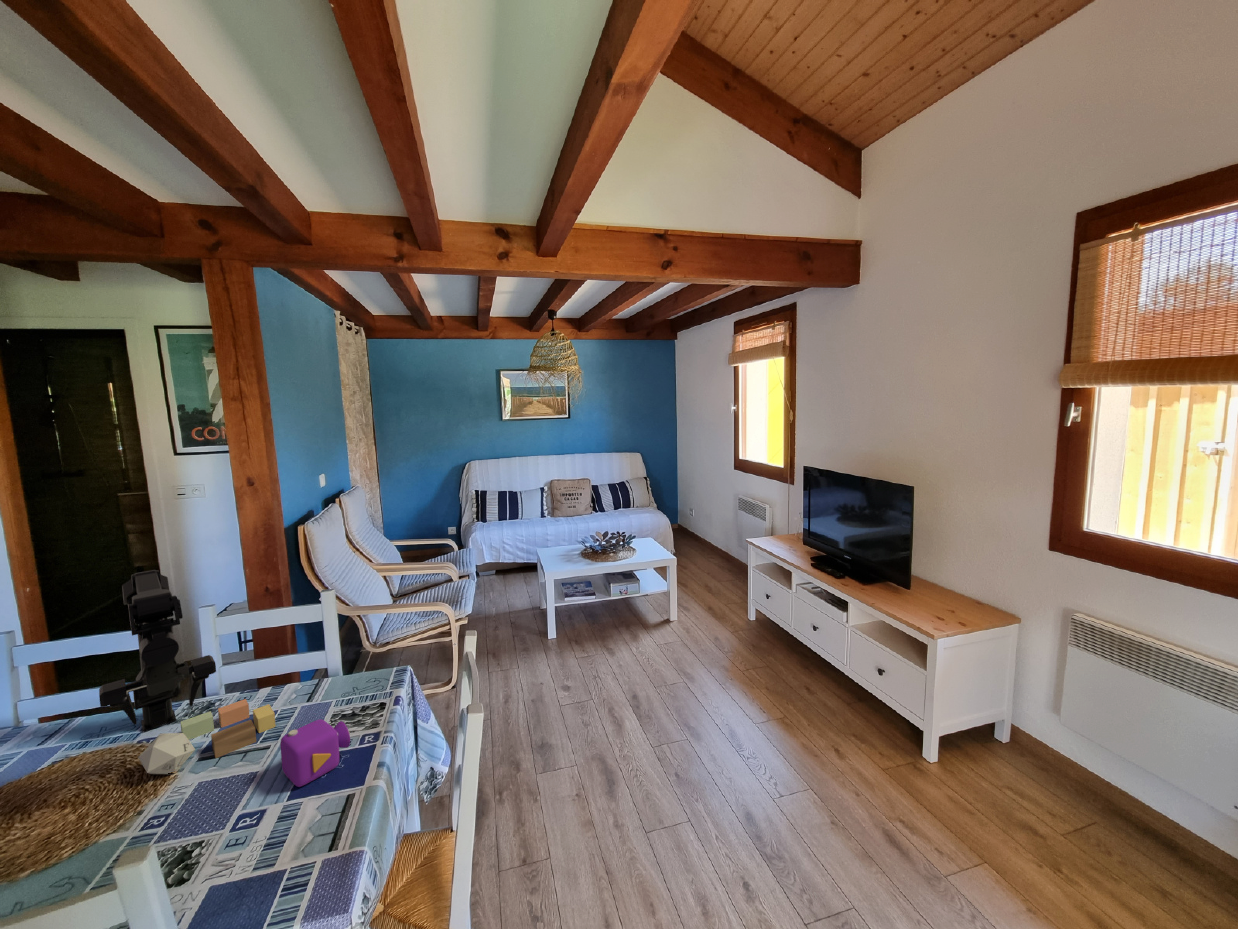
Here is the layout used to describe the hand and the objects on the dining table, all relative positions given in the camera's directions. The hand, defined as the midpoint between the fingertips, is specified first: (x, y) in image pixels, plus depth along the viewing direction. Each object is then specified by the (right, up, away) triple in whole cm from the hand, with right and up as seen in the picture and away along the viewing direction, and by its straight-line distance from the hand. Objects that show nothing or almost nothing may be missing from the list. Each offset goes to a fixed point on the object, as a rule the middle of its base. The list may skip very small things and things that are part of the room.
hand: (164, 714), depth 108 cm
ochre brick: (+9, -13, +19) cm, 25 cm away
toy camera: (+33, -15, +4) cm, 36 cm away
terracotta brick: (-1, -13, +21) cm, 25 cm away
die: (-2, -15, +3) cm, 15 cm away
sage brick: (-6, -13, +16) cm, 22 cm away
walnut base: (+7, -14, +11) cm, 19 cm away
